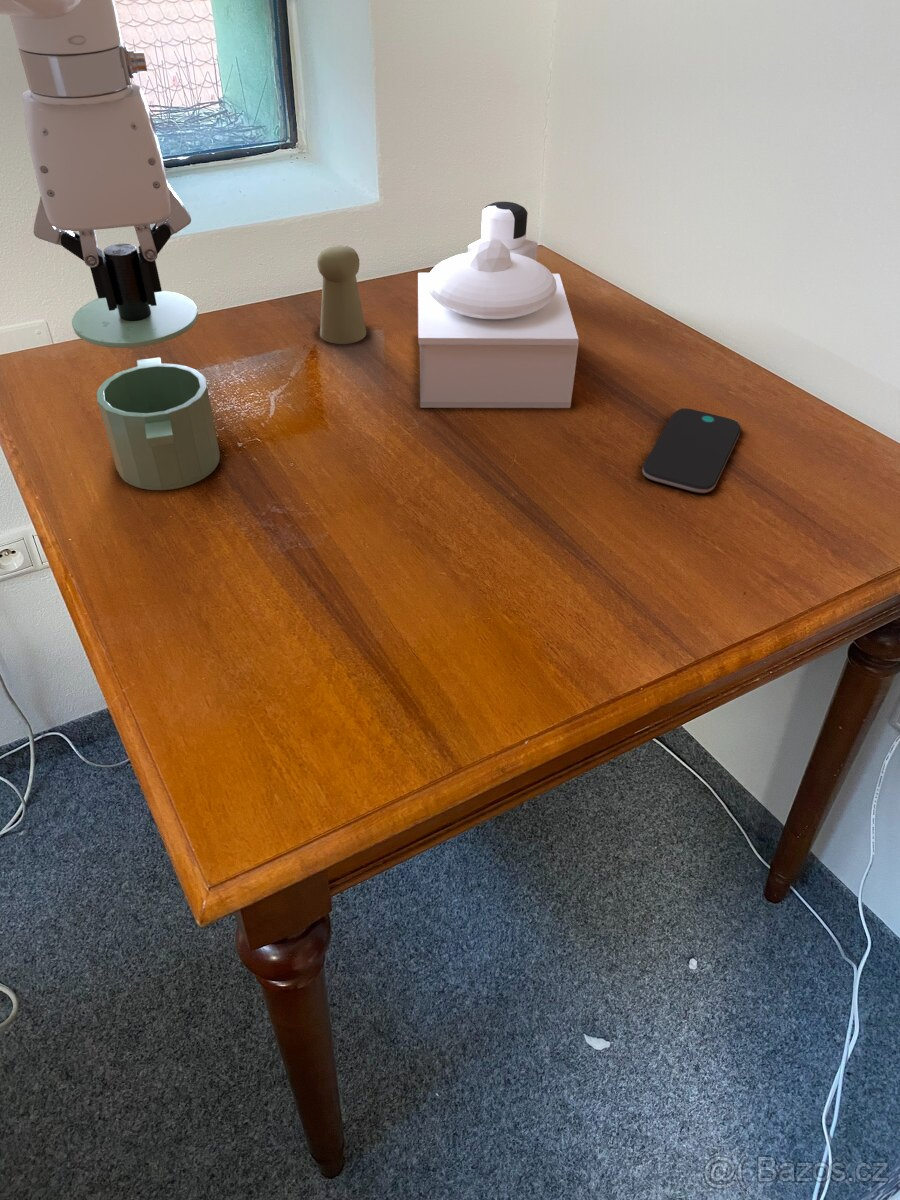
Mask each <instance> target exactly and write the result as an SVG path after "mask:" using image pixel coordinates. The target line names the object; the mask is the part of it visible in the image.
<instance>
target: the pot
mask: <svg viewBox="0 0 900 1200" xmlns="http://www.w3.org/2000/svg"><path fill="white" fill-rule="evenodd" d="M96 401H97V402H96V403H97V406H98V409H99V412H100V413H99V414H100V417H101V420H102V423H103V427H104V431H105V435H106V437H107V440H108V444H109V447H110V452H111V455H112V458H113V461H114V462H113V463H114V466H115V468H116V469H115V470H116V471H117V472H118V475H119V477H120V478H121V479H122V480H123V481H124V482H125V483H127V484H129V485H130V486H132V487H135V488H139V489H141V490H143V489H144V490H146V491H147V490H149V491H169V490H176V489H181V488H184V487H188V486H191V485H194V484H196V483H198V482H201V481H202V480H204V479H206V478H207V477H208V476H210V475H211V474H212V473H213V472H214V471H215V470H216V468H217V467H218V465H219V463H220V460H221V459H220V458H221V453H220V448H219V442H218V438H217V437H218V436H217V431H216V426H215V421H214V416H213V409H212V405H211V400H210V394H209V389H208V384H207V380H206V377H205V376H204V375H203V374H202V373H201V372H199V371H198V370H197V369H195V368H192V367H189V366H186V365H182V364H177V363H162V358H161V357H159V356H158V357H150V358H143V359H137V360H136V366H134V367H131V368H128V369H124V370H121V371H119V372H116V373H114V374H113V375H112V376H110V377H108V378H107V379H105V380H104V381H103V383H102V384H101V385H100V386H99V388H98V389H97V390H96Z"/></svg>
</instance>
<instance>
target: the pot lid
mask: <svg viewBox="0 0 900 1200" xmlns="http://www.w3.org/2000/svg"><path fill="white" fill-rule="evenodd" d="M138 253H139V251H138V249H137V247H136V245H134V244H131V243H117V244H112V245H108V246H107V247H105V248H104V249H103V255H104V256H105V260H106V263H107V267H108V271H109V275H110V279H111V283H112V287H113V291H114V295H115V299H116V303H117V308H115V310H111V311H109V308H108V304H107V300H106V298H100V299H99V298H98V297H97V298H95V299H94V300H91V301H89V302H88V303H86V304H84V305H82V307H79V309H77V311H76V312H75V313H74V314H73V316H72V319H71V326H72V329H73V331H74V333H75V335H76V336H77V337H78V338H79V339H81V340H82V341H84V342H87V343H89V344H92V345H95V346H98V347H105V348H113V349H114V348H115V349H129V348H140V347H147V346H154V345H158V344H161V343H164V342H169V341H170V340H173V339H175V338H178V337H180V336H181V335H184V334H185V333H186V332H188V331H190V330H191V329H192V328H193V327H194V326H195V324H196V323H197V321H198V319H199V310H198V305H196V303H195V302H194V301H193V300H192V299H191V298H189V297H187V296H186V295H183V294H181V293H178V292H174V291H169V290H162V292H155V299H156V304H157V305H156V306H151V305H148V301H147V297H146V292H145V288H144V283H143V279H142V275H141V270H140V266H139V257H138Z"/></svg>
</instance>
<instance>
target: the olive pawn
mask: <svg viewBox="0 0 900 1200" xmlns="http://www.w3.org/2000/svg"><path fill="white" fill-rule="evenodd" d="M316 265H317V266H316V267H317V270H318V272H319V273H320V275H321V276H322V283H321V284H322V285H321V287H322V288H321V303H320V306H321V307H320V327H319V328H320V329H319V336H320V338H321V339H322V340H324V341H325V342H327V343H331V344H336V345H348V344H353V343H357V342H360V341H361V340H363V339H364V338H365V337H366V336H367V328H366V323H365V318H364V313H363V306H362V302H361V296H360V290H359V286H358V279H357V274H359V270H360V257H359V254H358V253H357V251H356V250H355V249H354V248H352V247H351V246H349V245H346V244H332V245H327V246H325V247H323V248H322V249H321V250H320V251H319V253H318V254H317V259H316Z"/></svg>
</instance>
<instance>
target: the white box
mask: <svg viewBox="0 0 900 1200" xmlns="http://www.w3.org/2000/svg"><path fill="white" fill-rule="evenodd" d="M417 341H418V342H417V344H418V345H419V408H423V409H428V408H429V409H432V408H433V409H470V408H471V409H571V406H572V398H573V390H574V384H575V383H574V382H575V373H576V367H577V358H578V353H579V352H578V351H579V345H580V343H579V342H580V341H579V335H578V331H577V329H576V326H575V321H574V319H573V316H572V312H571V309H570V306H569V302H568V298H567V295H566V291H565V288H564V285H563V281H562V278H561V275H560V273H552V272H551V271H550V270H549V268H547V267H546V266H545V265H543V264H542V263H541V262H538V261H537V260H536V261H535V260H533V259H531V258H528V257H526V256H522V255H519V254H515V253H510V251H509V250H508V249H507V248H506V247H505V245H504V244H503V243H502V242H501V241H498V240H490V239H486V240H484V241H482V242H481V243H479V244H477V245H476V246H475V247H474V248H473V250H472V251H471V252H463V253H458V254H455V255H453V256H450V257H448V258H447V259H446V258H445V259H444V260H442V261H440V262H438V263H437V264H436V265H435V266H434V267H433V268H432V269H431V270H430V272H418V273H417Z"/></svg>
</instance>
